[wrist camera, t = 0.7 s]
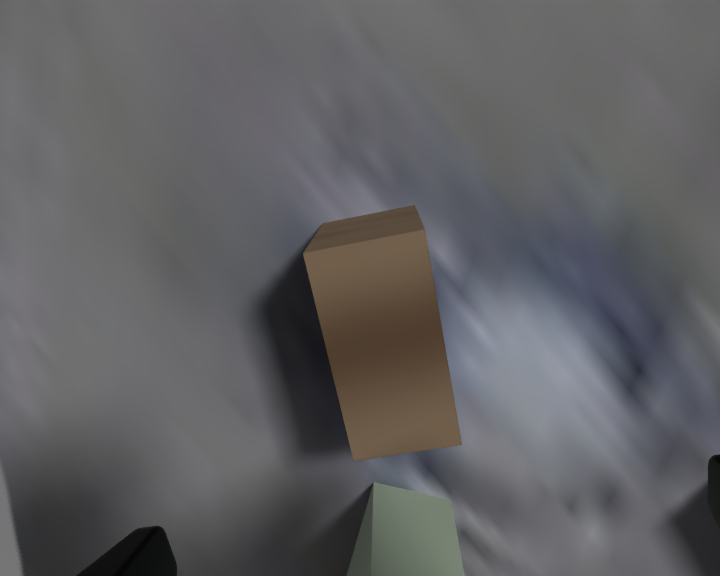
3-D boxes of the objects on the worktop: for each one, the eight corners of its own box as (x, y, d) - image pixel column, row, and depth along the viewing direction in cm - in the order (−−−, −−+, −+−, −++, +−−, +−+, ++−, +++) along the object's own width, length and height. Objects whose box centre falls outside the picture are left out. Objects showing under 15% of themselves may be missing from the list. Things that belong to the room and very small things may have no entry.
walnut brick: (444, 373, 21) (462, 444, 16) (360, 387, 21) (353, 461, 17) (414, 204, 19) (424, 229, 14) (322, 223, 19) (302, 253, 15)
